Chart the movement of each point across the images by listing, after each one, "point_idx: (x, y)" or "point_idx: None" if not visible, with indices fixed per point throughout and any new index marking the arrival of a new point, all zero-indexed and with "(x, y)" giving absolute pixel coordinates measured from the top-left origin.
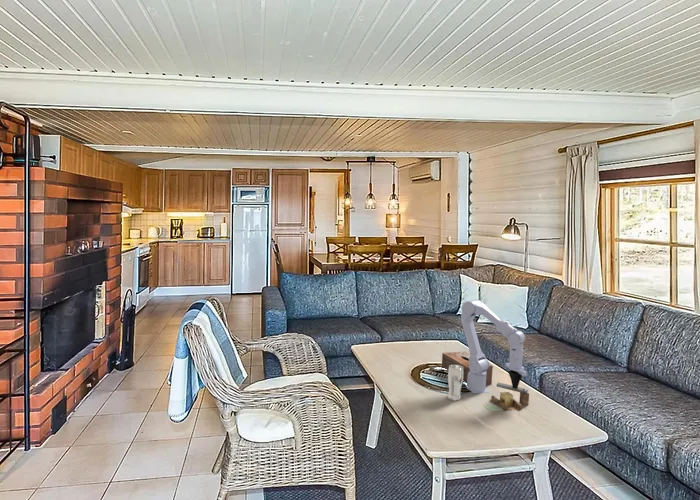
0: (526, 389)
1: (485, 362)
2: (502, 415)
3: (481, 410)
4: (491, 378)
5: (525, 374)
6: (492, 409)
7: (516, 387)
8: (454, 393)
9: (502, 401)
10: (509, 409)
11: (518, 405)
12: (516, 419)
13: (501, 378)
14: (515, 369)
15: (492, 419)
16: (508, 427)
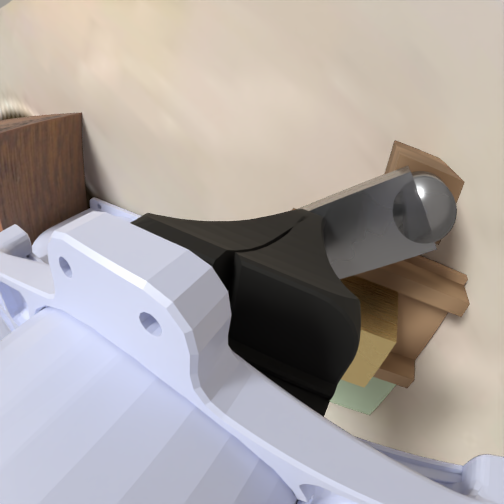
0: (429, 184)
1: (2, 320)
2: (422, 399)
3: (334, 416)
4: (53, 121)
5: (491, 495)
6: (363, 401)
7: (325, 237)
8: None
9: None
10: (416, 343)
11: (446, 305)
12: (486, 385)
13: (50, 20)
14: None
15: (413, 440)
16: (481, 441)
